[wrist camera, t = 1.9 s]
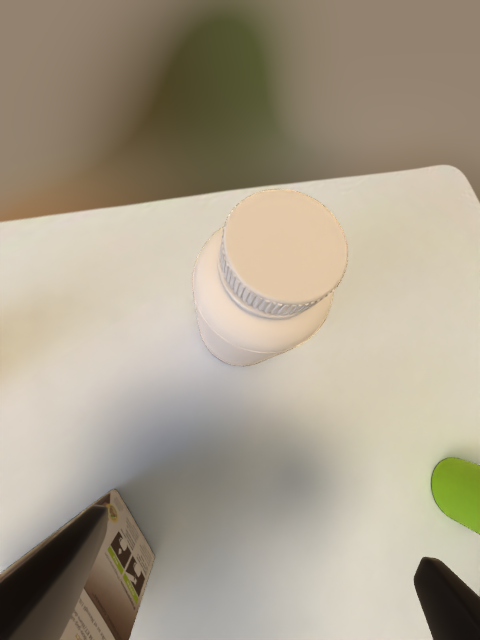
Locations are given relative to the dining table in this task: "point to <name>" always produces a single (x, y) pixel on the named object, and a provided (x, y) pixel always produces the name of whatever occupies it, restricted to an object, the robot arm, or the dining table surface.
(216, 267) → the pill bottle
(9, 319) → the dining table surface
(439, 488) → the green bottle
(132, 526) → the coffee box
